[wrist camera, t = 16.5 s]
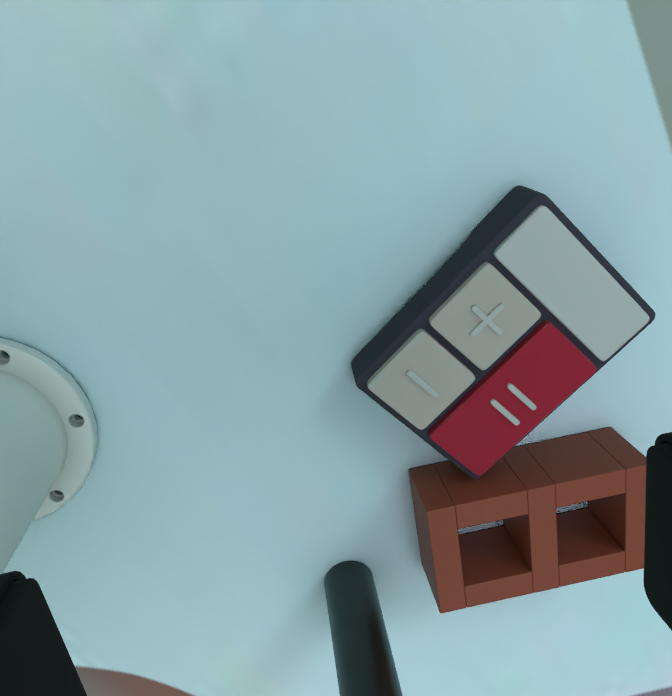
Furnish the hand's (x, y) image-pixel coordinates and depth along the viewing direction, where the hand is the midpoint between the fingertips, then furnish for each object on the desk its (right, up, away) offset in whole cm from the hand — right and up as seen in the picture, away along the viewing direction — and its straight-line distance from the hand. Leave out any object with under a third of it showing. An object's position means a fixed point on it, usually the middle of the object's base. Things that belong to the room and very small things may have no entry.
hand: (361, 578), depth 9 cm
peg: (0, -14, +35) cm, 38 cm away
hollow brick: (+12, -7, +35) cm, 37 cm away
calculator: (+9, +5, +30) cm, 32 cm away
